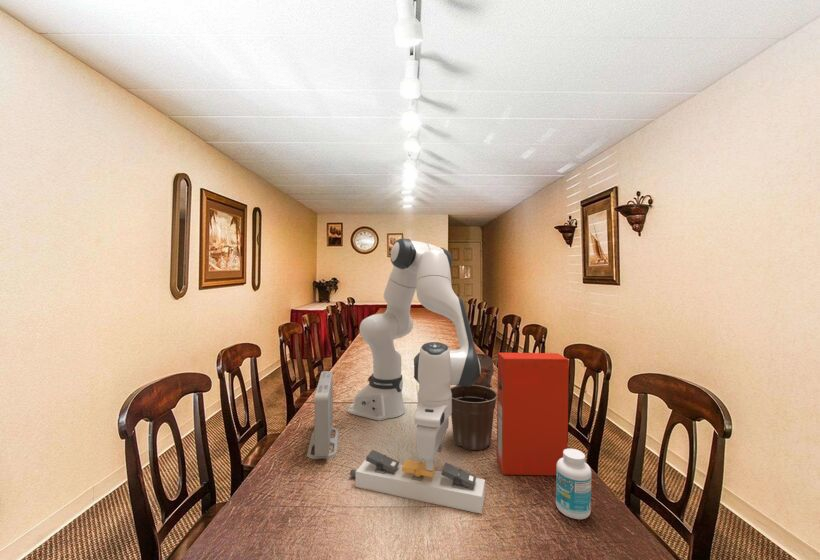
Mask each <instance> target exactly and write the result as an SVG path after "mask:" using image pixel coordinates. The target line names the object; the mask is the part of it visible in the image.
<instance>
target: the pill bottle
mask: <svg viewBox="0 0 820 560" xmlns="http://www.w3.org/2000/svg"><path fill="white" fill-rule="evenodd" d="M592 473H593V472H592V468H591V467H590V466H589V464H588V463H587V462H586V454H585V453H584V452H583V451H581V450H579V449H576V448H567V449H565V450H564V451H563V458H561V459H559V460H558V462H557V467H556V475H555V476H556V479H555V505H556V507H557V509H558V511H559V512H560V513H562V514H563V515H564V516H566V517H568V518H571V519H574V520H584V519H587V518H589V516H590V515H591V511H592V510H591V505H592V502H591V501H592Z"/></svg>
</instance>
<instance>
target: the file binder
mask: <svg viewBox="0 0 820 560" xmlns="http://www.w3.org/2000/svg"><path fill="white" fill-rule="evenodd" d="M569 367H570V359H569V358H567V357H566V356H563V355H562V354H561V353H559V352H557V353H556V352H497V392H496V393H497V399H496V402H497V403H496V405H497V406H496V409H497V410H496V412H497V413H496V417H497V418H496V421H497V422H496V461H497V464H498V466H499V469H500V471H501V474H502V475H507V476H508V475H511V476H512V475H513V476H514V475H515V476H517V475H518V476H556V467H557V462H558V460H559V459H561V458H563V451H564V450H565V449H568V442H569V441H568V439H569V438H568V435H569V430H568V429H569V382H570V381H569V373H570V372H569V369H570V368H569Z"/></svg>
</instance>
